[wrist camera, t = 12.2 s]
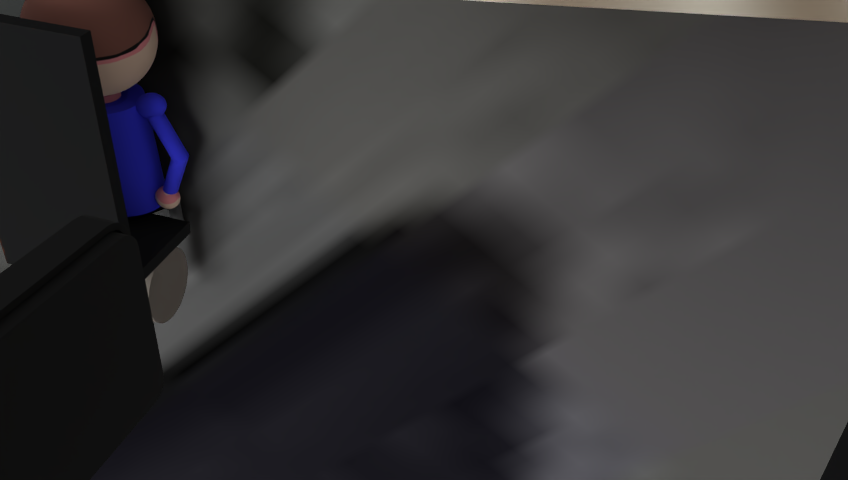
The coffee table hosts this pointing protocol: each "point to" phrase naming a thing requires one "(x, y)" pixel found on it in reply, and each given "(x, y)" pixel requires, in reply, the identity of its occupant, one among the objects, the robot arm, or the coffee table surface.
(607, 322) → the coffee table surface
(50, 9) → the figurine character
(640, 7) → the hub board
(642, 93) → the coffee table surface
